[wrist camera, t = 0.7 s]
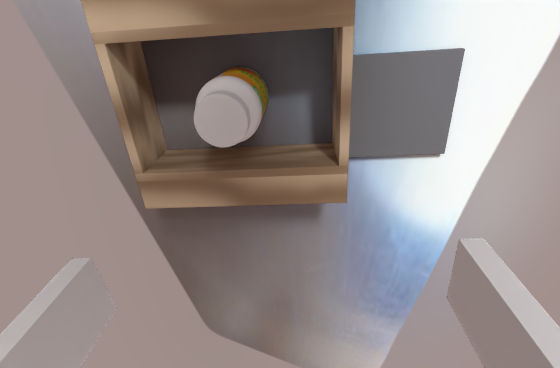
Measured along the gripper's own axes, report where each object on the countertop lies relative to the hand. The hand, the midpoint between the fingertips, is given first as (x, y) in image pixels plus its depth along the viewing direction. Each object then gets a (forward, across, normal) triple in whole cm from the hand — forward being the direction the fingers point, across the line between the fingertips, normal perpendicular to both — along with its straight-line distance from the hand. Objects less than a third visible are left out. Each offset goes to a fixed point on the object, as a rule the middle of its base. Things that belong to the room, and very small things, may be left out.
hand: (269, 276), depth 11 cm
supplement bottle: (+23, -4, +2) cm, 23 cm away
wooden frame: (+23, -4, +2) cm, 23 cm away
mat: (+23, +11, 0) cm, 25 cm away
